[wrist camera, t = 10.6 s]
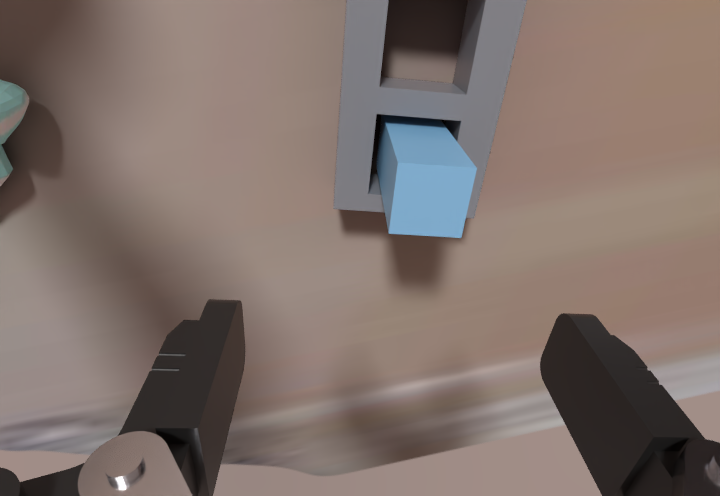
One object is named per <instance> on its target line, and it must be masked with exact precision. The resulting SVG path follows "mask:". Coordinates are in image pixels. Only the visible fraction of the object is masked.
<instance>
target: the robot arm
mask: <svg viewBox="0 0 720 496" xmlns="http://www.w3.org/2000/svg"><path fill="white" fill-rule="evenodd" d="M244 362H245V338H244V324H243V310H242V303H241V301H238V300H211V299H210V300H208V301H207V303H206V306H205V308H204V310H203V313H202V315H201V318H200V320H199V321H197V320H184V321H183V322H181V323H180V324H179V325H178V326H177V327H176V328H175V329H174V330H173V331H171V332H170V333H169V334H168V335H167V337H166V339H165V341H164V343H163V346H162V348H161V350H160V352H159V356H157V358H156V360H155V362H154V364H153V366H152V371H150V372H149V374H148V376H147V378H146V380H145V383H144V385H143V387H142V389H141V391H140V393H139V395H138V397H137V399H136V401H135V403H134V405H133V407H132V409H131V411H130V413H129V415H128V418H127V420H126V422H125V424H124V426H123V428H122V430H121V431H120V433H119V435H118V436H117V437H114V438H112V439H111V440H109V441H107V442H106V443H104V444H103V445H101V446H100V447H99V448H98V449H96V450H95V451H94V452H93V453H92V454H91V455H90V457H89V458H88V459H87V461H86V462H85V463H83V464H81V465H78V466H76V467H73V468H71V469H67V470H64V471H60V472H56V473H52V474H49V475H45V476H41V477H38V478H34V479H30V480H27V481H23V482H19V480H18V478H17V476H16V475H15V474H14V473H13V472H12V471H9V470H7V469H4V468H0V496H213V493H214V488H215V484H216V480H217V476H218V472H219V468H220V464H221V460H222V456H223V452H224V448H225V444H226V440H227V435H228V431H229V427H230V423H231V419H232V415H233V411H234V407H235V403H236V399H237V395H238V391H239V387H240V383H241V378H242V374H243V370H244ZM540 370H541V376H542V379H543V381H544V384H545V385H546V387H547V389H548V391H549V393H550V395H551V397H552V399H553V401H554V403H555V405H556V407H557V409H558V411H559V413H560V415H561V417H562V418H563V420H564V422H565V424H566V426H567V428H568V430H569V432H570V434H571V436H572V438H573V440H574V442H575V444H576V446H577V447H578V449H579V451H580V453H581V455H582V457H583V459H584V461H585V463H586V465H587V467H588V469H589V471H590V473H591V475H592V477H593V479H594V481H595V483H596V484H597V486H598V488H599V490H600V492H601V494H602V496H720V443H719V442H715V441H713V440H707V439H705V438H704V437H703V436H702V435H701V433H700V432H699V431H698V429H697V428H696V427H695V426H694V424H693V423H692V422H691V421H690V419H689V418H688V417H687V416H686V414H685V413H684V412H683V411H682V410H681V408H680V407H679V406H678V405H677V403H676V402H675V401H674V400H673V398H672V397H671V396H670V395H669V393H668V392H667V391H666V390H665V388H664V387H663V386H662V385H659V381H658V380H657V378H656V377H655V376H654V375H653V374H652V372H651V371H648V370H647V366H646V365H645V364H644V362H643V361H642V360H641V359H640V357H639V356H638V355H637V354H636V352H635V351H634V350H633V349H631V348H630V347H629V346H628V345H626V344H625V343H624V342H622V341H621V340H620V339H618V338H617V337H616V336H614V335H610V334H609V332H608V331H607V330H606V328H605V327H604V326H603V325H602V323H601V322H600V321H599V319H598V318H597V317H596V316H594V315H591V314H565V313H563V314H560V315H559V316H558V318H557V319H556V322H555V324H554V327H553V329H552V332H551V334H550V337H549V339H548V342H547V344H546V346H545V349H544V351H543V354H542V357H541V362H540Z"/></svg>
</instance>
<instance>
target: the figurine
mask: <svg viewBox="0 0 720 496" xmlns="http://www.w3.org/2000/svg"><path fill="white" fill-rule="evenodd" d="M28 104H29V96H28V95H27V93H26V91H25V90H24V89H22V88H21V87H19V86H18V85H17V84H13V83H10V82H6V81H3V80H0V186H1V185H2V184H3V183H4V182H5V181H6V179H7V178H8V177H9V175H10V173H11V172H12V170H13V168H12V166H11V164H10V162H9V160H8V158H7V155H6V153H5V151H4V149H3V147H2V145H1V144H3V143H5V141H6V140H7V138H8V137H9V136H10V135H11V133H12V132H13V131H14V130H15V129H16V128H17V127H18V125H19V124H20V122H21V121H22V119H23V117H24V115H25V112H26V109H27V107H28Z"/></svg>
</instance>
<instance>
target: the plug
mask: <svg viewBox="0 0 720 496" xmlns="http://www.w3.org/2000/svg"><path fill="white" fill-rule="evenodd" d="M376 167H377V172H378V178H379V183H380V189H381V194H382V200H383V205H384V211H385V216H386V222H387V227H388V233H389V234H404V235H420V236H437V237H454V238H461V237H462V232H463V228H464V224H465V219H466V215H467V210H468V206H469V201H470V197H471V193H472V188H473V184H474V179H475V175H476V171H477V167H476V166H475V165H474V163H473V162H472V161H471V159H470V158H469V157H468V156H467V154H466V153H465V152H464V150H463V149H462V148H461V146H460V145H459V144H458V142H457V141H456V140H455V138H454V137H453V136H452V134H451V133H450V132H449V130H448V129H447V128H446V127H445V125H444V124H443V123H442V121H441V120H440V119H431V118H419V117H407V116H395V115H383V114H381V124H380V133H379V143H378V152H377V162H376Z"/></svg>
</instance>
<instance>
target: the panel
mask: <svg viewBox="0 0 720 496" xmlns="http://www.w3.org/2000/svg"><path fill="white" fill-rule="evenodd" d="M388 1H389V0H346V16H345V32H344V47H343V63H342V79H341V95H340V110H339V126H338V142H337V157H336V173H335V189H334V208H333V209H341V210H356V211H371V212H385V211H384V205H383V200H382V194H381V189H380V183H379V178H378V174H370V172H371V162H372V153H373V143H374V134H375V124H376V115H377V114H383V115H395V116H407V117H419V118H431V119H443V120H446V123H445V127H446V128H447V129H448V130H449V132H450V133H451V134H452V136H453V137H454V138H455V140H456V141H457V142H458V144H459V145H460V146H461V148H462V149H463V150H464V152H465V153H466V154H467V156H468V157H469V158H470V159H471V161H472V162H473V163H474V165H475V166H476V167H477V171H476V175H475V179H474V184H473V188H472V193H471V197H470V201H469V206H468V210H467V215H466V218H474V216H475V212H476V208H477V204H478V200H479V195H480V191H481V187H482V183H483V179H484V175H485V171H486V167H487V162H488V158H489V154H490V150H491V146H492V142H493V138H494V134H495V129H496V125H497V121H498V117H499V113H500V109H501V105H502V101H503V96H504V92H505V88H506V84H507V80H508V76H509V72H510V68H511V63H512V59H513V55H514V51H515V47H516V43H517V39H518V35H519V30H520V26H521V22H522V18H523V14H524V10H525V6H526V2H527V0H468V4H467V9H466V14H465V20H464V25H463V31H462V36H461V42H460V47H459V52H458V58H457V63H456V69H455V74H454V80H453V83H444V82H433V81H422V80H410V79H399V78H388V77H381V67H382V58H383V48H384V39H385V29H386V20H387V10H388Z"/></svg>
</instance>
